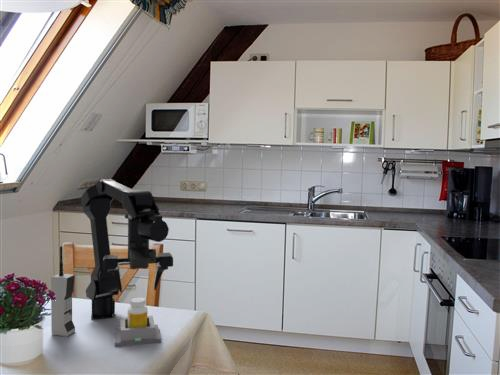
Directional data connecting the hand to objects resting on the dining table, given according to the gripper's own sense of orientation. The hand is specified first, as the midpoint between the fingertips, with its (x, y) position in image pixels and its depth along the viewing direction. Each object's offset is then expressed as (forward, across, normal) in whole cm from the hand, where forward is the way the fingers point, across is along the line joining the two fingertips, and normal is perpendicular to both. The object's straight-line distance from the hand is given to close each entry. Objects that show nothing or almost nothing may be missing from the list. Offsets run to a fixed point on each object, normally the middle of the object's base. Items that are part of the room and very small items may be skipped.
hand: (138, 290), depth 121 cm
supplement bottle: (+12, 0, -1) cm, 12 cm away
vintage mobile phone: (+13, -20, +6) cm, 25 cm away
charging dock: (+13, 0, -1) cm, 13 cm away
